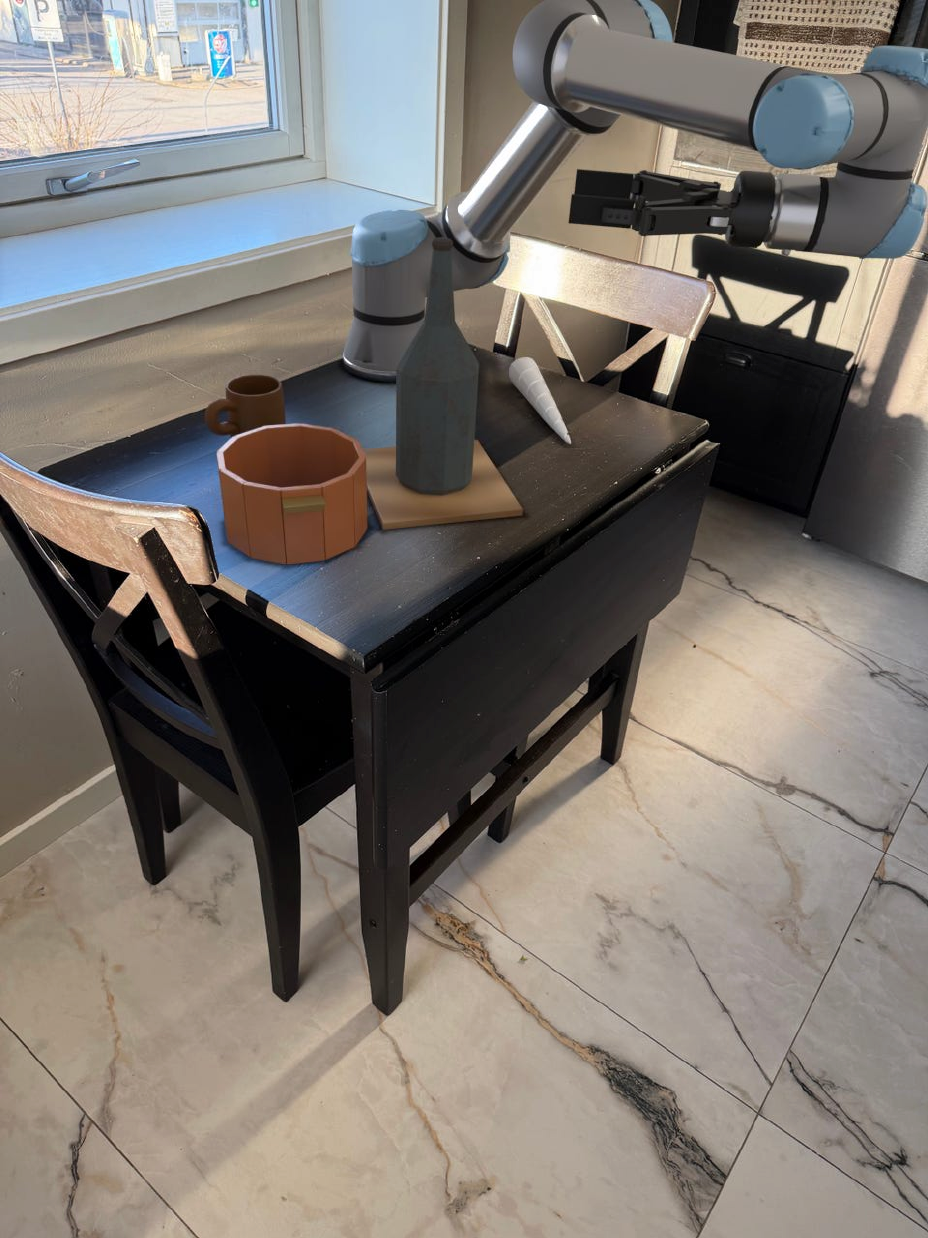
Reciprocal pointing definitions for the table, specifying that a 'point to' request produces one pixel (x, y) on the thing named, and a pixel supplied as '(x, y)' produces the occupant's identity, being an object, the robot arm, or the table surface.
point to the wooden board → (414, 509)
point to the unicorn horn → (537, 393)
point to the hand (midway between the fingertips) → (572, 194)
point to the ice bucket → (293, 492)
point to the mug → (247, 405)
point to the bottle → (436, 392)
